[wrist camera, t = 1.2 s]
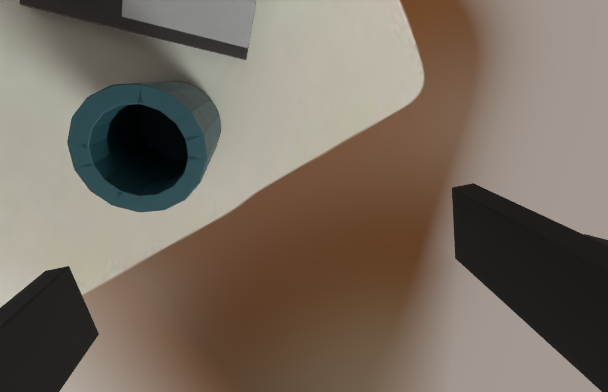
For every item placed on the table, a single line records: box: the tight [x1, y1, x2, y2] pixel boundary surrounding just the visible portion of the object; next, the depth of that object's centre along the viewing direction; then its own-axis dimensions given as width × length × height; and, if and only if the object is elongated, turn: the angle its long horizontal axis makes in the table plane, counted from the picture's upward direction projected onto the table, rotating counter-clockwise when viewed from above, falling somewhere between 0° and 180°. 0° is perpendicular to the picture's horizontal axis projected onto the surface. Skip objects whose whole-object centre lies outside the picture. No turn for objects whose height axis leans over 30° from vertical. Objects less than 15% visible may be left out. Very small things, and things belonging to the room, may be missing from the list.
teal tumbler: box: [67, 81, 221, 212], centre depth 29 cm, size 8×8×14 cm
